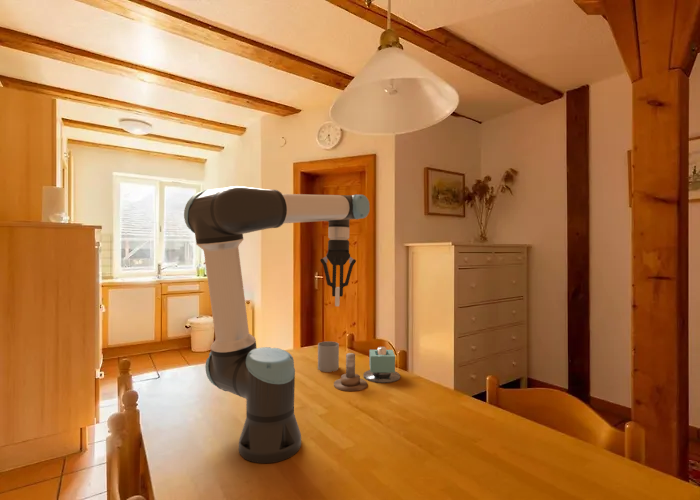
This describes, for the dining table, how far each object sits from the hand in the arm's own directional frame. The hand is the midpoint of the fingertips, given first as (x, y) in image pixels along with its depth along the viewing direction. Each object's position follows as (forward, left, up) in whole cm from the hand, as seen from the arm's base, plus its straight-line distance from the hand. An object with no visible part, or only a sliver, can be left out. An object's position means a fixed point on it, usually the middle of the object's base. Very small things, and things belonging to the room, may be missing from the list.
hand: (337, 305), depth 136 cm
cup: (+19, +4, -29) cm, 35 cm away
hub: (+10, -17, -29) cm, 35 cm away
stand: (+1, -5, -29) cm, 29 cm away
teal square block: (+10, -17, -26) cm, 32 cm away
